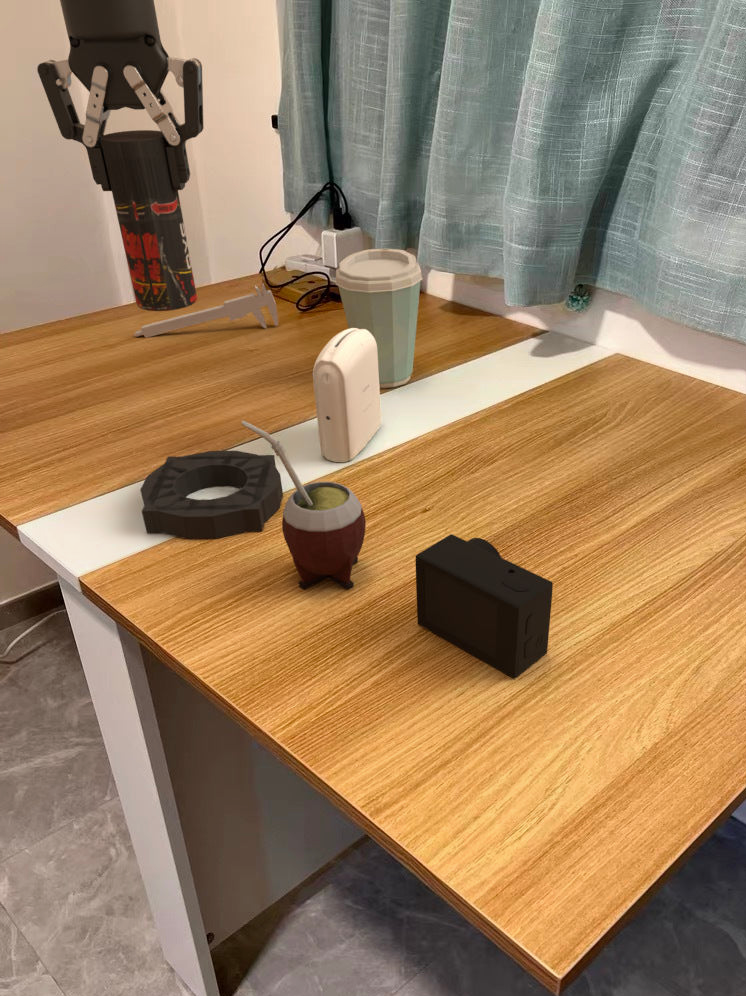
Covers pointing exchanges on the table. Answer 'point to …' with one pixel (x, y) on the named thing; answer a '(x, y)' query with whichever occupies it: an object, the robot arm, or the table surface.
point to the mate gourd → (320, 526)
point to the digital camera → (483, 603)
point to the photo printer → (347, 394)
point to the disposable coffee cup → (383, 306)
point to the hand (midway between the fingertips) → (144, 188)
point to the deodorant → (149, 219)
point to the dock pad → (214, 516)
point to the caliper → (218, 313)
